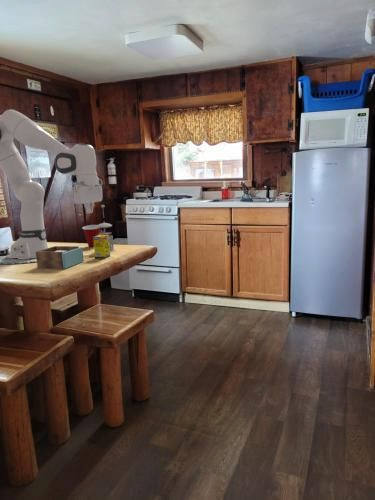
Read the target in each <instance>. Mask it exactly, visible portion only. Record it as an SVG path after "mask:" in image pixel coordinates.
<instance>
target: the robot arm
mask: <svg viewBox="0 0 375 500" xmlns="http://www.w3.org/2000/svg"><path fill="white" fill-rule="evenodd" d="M14 139H15V140H17V142H18V143H21V145H24V146H26V147H28V148H32V149H36V150H37V149H38V150H42V151H46V152H49V153H51V154H53V155H55V158H54V167H55V169H56V172H57V171H58V173H60V174H63V175H73V176H74V175H76V182H75V184H74V187H73V193H72V194H73V199H72V200H73V202H74V204H75V205H82V204H83V206H84V208H85V213H86V214H92V213H94V206H95V203H98V202H99V203H100V202H102V200H103V196H104V195H103V184H104V183H103V180H102V179H100V178H99V177H98V173H97V157H96V155H97V154H96V151H95V148H94V147H93V146H92V145H91V144H87V143H76V144H75V145H73V147H71V148H70V147H68V146H67V145H66V144H64V143H62V142H61V141H59V140H57V138H55V137H53V136H52V135H51V134H50V133H48V131H45V130H44V129H43V127H41V126H40V125H38V123H36V122H35V121H34V120H32V119H30V117H28V116H26V115H25V114H23V113H21V112H20V111H17V110H16V109H6V110H5V111H4V112H3V113H2V114H0V168H1V170H2V171H3V174H4V175H5V177H6V179H7V181H8V183H9V186H10V188H11V190H12V192H13V194H14V196H15V198H16V199H17V200H18V201H19V202H20V214H19V216H20V218H19V219H20V224H21V225H20V226H21V230H20V231H17V234H18V235H19V238H18V239H16V241H15V242H13V243H12V244H11V246H10V249H9V251H10V253H9V254H7V255H6V256H5V258H6V257H7V258H6V259H13V258H18V259H17V260H30V258H31V259H36V252H37V251H40V250H44V249H47V248H49V245H48V242H47V231H46V228H45V220H44V198H45V194H46V193H45V188H44V187H43V185H42V184H41V183H39V182H37V181H35V180H32V178H31V176H30V172H29V170H28V169H29V168H28V165H27V164H26V162H25V160H24V159H23V157H22V155H21V153H20V151H19V150H18V148H17V146H16V145H15V143H14Z"/></svg>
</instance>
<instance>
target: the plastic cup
mask: <svg viewBox="0 0 375 500" xmlns="http://www.w3.org/2000/svg"><path fill="white" fill-rule="evenodd" d="M98 225H99V224H90V225H85V226H83V227H81V229H82V230H83V232H84V235H85V239H86V243H87V247H88V248H94V239H93V237H95V236H98V235H99V233H101V228H98V227H97V226H98Z"/></svg>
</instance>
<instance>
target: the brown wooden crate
mask: <svg viewBox="0 0 375 500" xmlns="http://www.w3.org/2000/svg"><path fill="white" fill-rule="evenodd" d="M79 247H80V246H78V245H77V246H76V245H74V246H72V245H71V246H69V245H64V246H63V245H55V246H50V247H48V248H47V249H44V250H40V251H37V252H36V258H35V259H36V266H37V269H54V270H55V269H56V270H57V269H58V270H63V269H64V268H63V262H62V252H55V251H58V250H61V251H67V252H68V251H70V250H73V249H76V248H79Z"/></svg>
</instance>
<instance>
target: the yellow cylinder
mask: <svg viewBox="0 0 375 500" xmlns="http://www.w3.org/2000/svg"><path fill="white" fill-rule="evenodd" d="M109 235H110V234H109ZM109 235H98V236H95V237H93V239H94V247H93V250H94V258H95V259H107V258H109V257H111V252H110V244H109Z"/></svg>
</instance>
